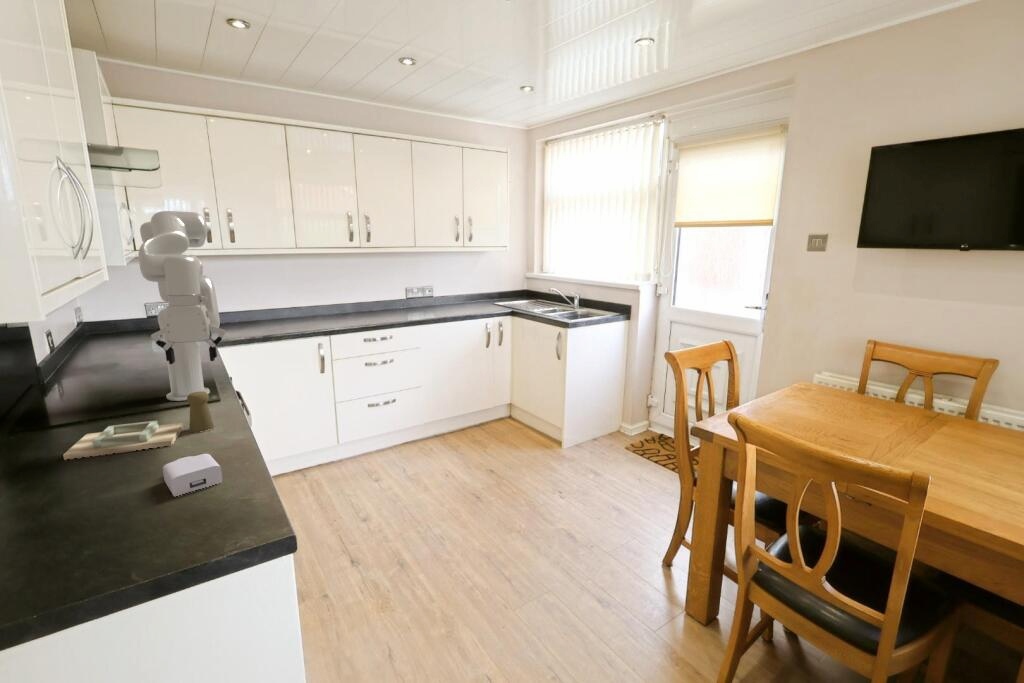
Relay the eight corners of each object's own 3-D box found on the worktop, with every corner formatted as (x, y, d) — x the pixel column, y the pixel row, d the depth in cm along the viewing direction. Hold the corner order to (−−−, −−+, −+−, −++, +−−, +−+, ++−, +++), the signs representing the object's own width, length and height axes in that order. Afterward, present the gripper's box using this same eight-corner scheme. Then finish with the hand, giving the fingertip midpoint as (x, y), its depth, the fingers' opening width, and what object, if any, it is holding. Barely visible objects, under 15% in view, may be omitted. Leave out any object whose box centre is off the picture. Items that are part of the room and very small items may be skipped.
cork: (209, 423, 139) (205, 388, 137) (217, 428, 136) (213, 392, 133) (186, 429, 135) (181, 392, 133) (193, 434, 131) (188, 397, 129)
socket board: (87, 439, 127) (85, 426, 126) (183, 427, 136) (182, 416, 135) (64, 460, 115) (61, 446, 114) (171, 445, 123) (169, 433, 123)
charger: (205, 462, 115) (223, 483, 105) (159, 474, 108) (173, 498, 98) (202, 444, 114) (220, 464, 104) (156, 455, 108) (170, 478, 97)
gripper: (223, 298, 135) (230, 356, 138) (150, 300, 128) (159, 361, 131) (219, 301, 128) (226, 362, 131) (142, 303, 121) (151, 367, 124)
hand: (192, 361), depth 131 cm, fingers open, 9 cm apart
